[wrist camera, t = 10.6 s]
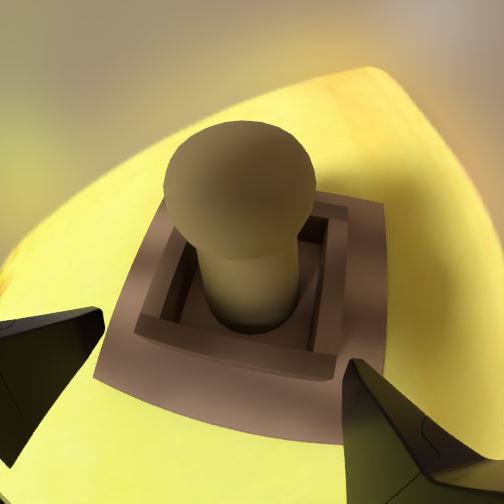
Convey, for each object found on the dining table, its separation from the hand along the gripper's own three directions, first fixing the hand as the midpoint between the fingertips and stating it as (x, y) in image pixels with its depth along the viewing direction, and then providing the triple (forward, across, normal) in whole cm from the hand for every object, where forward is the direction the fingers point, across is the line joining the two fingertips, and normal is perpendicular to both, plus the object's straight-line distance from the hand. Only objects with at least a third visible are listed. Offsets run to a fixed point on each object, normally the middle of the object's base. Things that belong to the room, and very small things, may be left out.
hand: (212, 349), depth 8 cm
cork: (+9, 0, +1) cm, 9 cm away
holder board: (+10, 0, +2) cm, 10 cm away
